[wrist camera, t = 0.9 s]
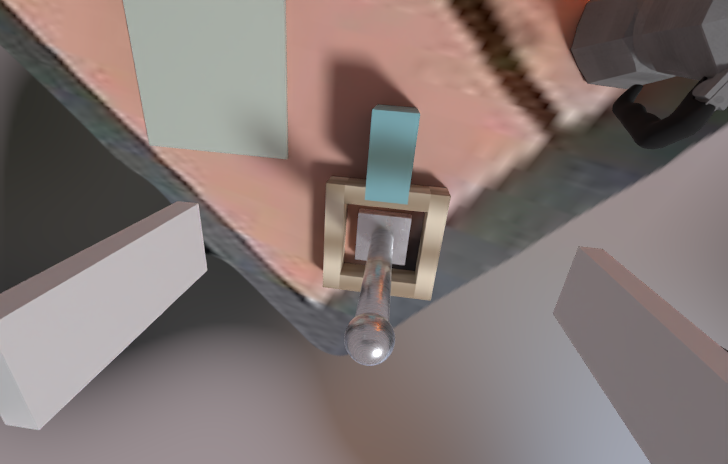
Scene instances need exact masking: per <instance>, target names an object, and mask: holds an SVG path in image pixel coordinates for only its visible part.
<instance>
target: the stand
mask: <svg viewBox="0 0 728 464" xmlns="http://www.w3.org/2000/svg"><path fill="white" fill-rule="evenodd" d="M411 219H412V217H411V214H407V213H398V212H389V211H380V210H371V209H362V208H360V210H359V213H358V225H357V238H356V251H355V259H357V260H365V261H366V266H365V271H364V276H363V281H362V286H361V291H360V296H359V301H358V306H357V311H356V316H355V318H354V319H353V320H352V321H351V322H350V323H349V325H348V326H347V328H346V331H345V337H344V341H345V347H346V350H347V352H348V354H349V355H350V356H351V357H352V359H354V360H355V361H356V362H358V363H360V364H362V365H366V366H373V365H377V364H380V363H382V362H383V361H385V360H386V359H387V358H388V357H389V356H390V354H391V353H392V351H393V348H394V344H395V334H394V330H393V328H392V326H391V324H390V323H389V311H390V293H391V275H392V264H398V265H405V260H406V253H407V246H408V240H409V233H410V226H411Z"/></svg>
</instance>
